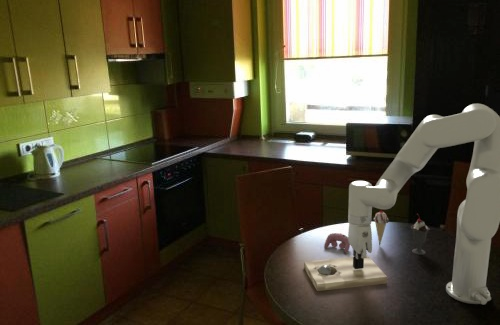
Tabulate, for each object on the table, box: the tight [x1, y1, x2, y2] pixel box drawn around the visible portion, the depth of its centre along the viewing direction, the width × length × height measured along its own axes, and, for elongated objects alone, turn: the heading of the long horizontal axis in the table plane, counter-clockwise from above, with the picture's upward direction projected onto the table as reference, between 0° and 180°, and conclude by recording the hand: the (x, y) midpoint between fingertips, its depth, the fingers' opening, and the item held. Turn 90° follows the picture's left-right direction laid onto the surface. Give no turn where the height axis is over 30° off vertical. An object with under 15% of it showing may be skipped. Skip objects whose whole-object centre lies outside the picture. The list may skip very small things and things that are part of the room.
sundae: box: [410, 213, 431, 256], centre depth 166 cm, size 7×7×15 cm
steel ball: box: [318, 265, 333, 276], centre depth 151 cm, size 4×4×4 cm
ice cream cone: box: [373, 210, 389, 247], centre depth 172 cm, size 6×6×15 cm
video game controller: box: [323, 232, 351, 254], centre depth 173 cm, size 10×5×7 cm, turn 59°
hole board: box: [303, 255, 388, 292], centre depth 153 cm, size 16×24×2 cm, turn 99°
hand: (358, 267), depth 151 cm, fingers closed
